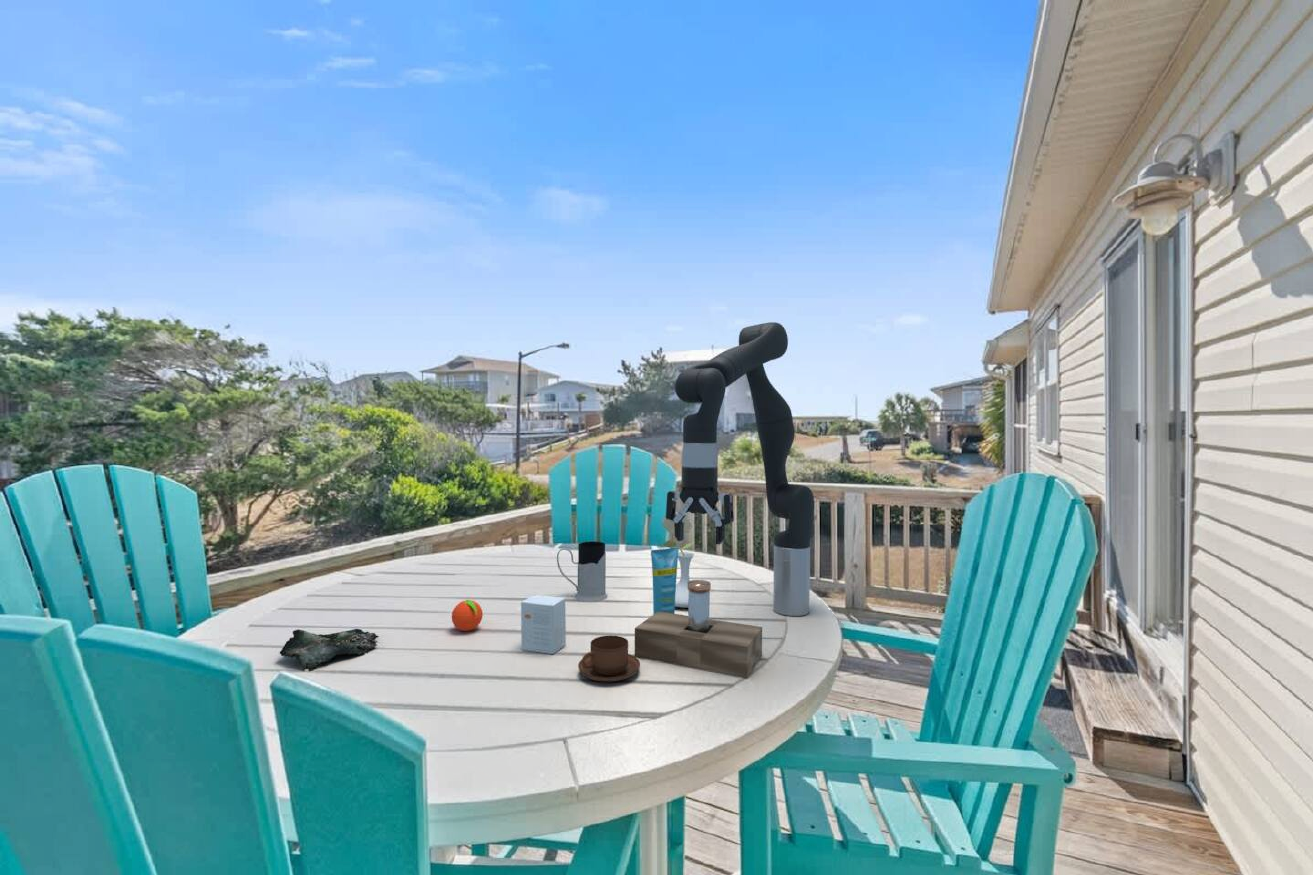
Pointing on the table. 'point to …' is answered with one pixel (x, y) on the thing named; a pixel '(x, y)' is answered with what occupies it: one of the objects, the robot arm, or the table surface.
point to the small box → (543, 624)
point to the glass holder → (590, 571)
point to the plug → (698, 605)
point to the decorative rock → (326, 646)
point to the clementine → (467, 615)
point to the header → (699, 644)
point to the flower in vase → (684, 559)
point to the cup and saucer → (608, 660)
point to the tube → (664, 579)
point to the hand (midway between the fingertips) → (699, 542)
